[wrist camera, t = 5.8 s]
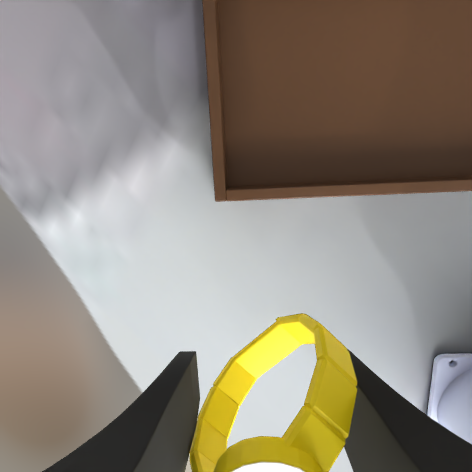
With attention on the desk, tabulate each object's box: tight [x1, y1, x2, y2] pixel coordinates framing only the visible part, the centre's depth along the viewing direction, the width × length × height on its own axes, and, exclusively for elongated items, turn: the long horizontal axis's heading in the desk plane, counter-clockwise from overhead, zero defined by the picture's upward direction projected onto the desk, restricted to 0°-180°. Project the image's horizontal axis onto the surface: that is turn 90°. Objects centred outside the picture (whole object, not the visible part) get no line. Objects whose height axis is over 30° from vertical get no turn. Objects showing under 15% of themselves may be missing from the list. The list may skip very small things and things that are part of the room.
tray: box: [202, 0, 472, 202], centre depth 15 cm, size 17×12×2 cm
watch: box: [190, 313, 357, 472], centre depth 10 cm, size 6×3×6 cm, turn 136°
